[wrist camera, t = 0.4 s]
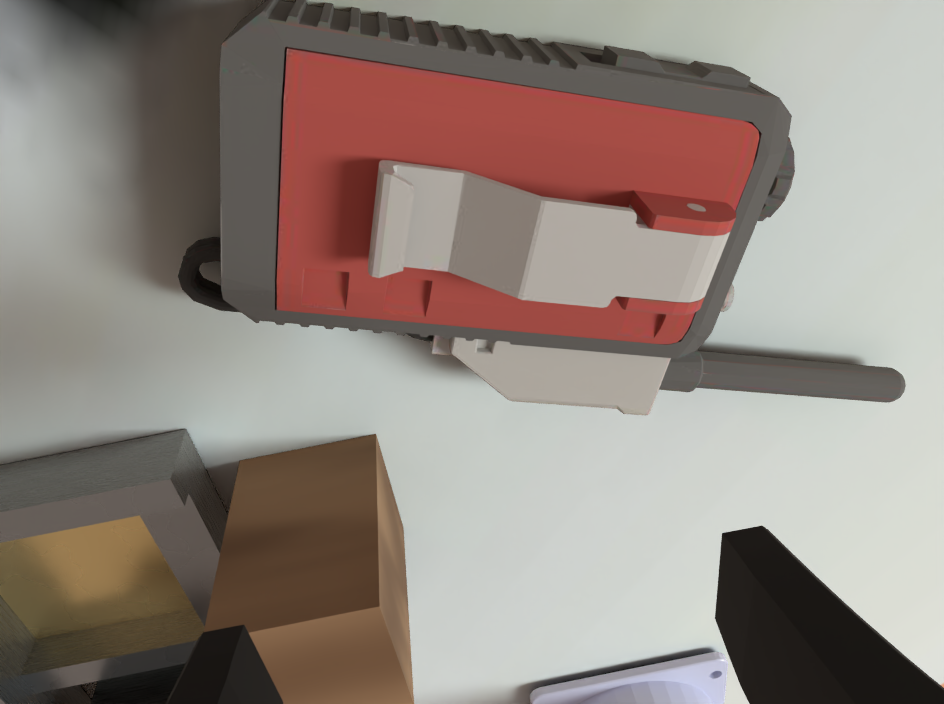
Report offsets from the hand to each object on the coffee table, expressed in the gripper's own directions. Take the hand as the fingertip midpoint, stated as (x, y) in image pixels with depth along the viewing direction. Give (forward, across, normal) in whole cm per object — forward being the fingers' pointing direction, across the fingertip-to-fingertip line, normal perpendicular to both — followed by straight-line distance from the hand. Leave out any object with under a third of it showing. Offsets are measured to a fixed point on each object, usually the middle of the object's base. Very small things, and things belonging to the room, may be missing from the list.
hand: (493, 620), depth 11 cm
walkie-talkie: (+10, -4, -1) cm, 11 cm away
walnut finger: (+10, +4, +6) cm, 12 cm away
